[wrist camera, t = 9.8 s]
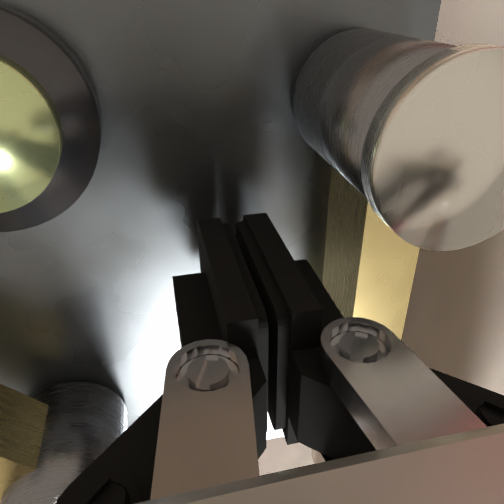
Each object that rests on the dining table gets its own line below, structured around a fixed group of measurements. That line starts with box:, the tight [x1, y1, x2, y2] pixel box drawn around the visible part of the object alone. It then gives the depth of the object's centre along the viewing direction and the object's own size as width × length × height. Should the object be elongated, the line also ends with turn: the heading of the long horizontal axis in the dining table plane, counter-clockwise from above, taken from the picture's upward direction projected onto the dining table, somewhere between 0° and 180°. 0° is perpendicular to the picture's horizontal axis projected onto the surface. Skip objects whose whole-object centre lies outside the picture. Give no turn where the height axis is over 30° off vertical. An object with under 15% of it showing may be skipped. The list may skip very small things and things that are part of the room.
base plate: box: [0, 0, 441, 440], centre depth 12 cm, size 20×16×3 cm
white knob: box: [293, 28, 504, 340], centre depth 10 cm, size 8×3×5 cm, turn 0°
